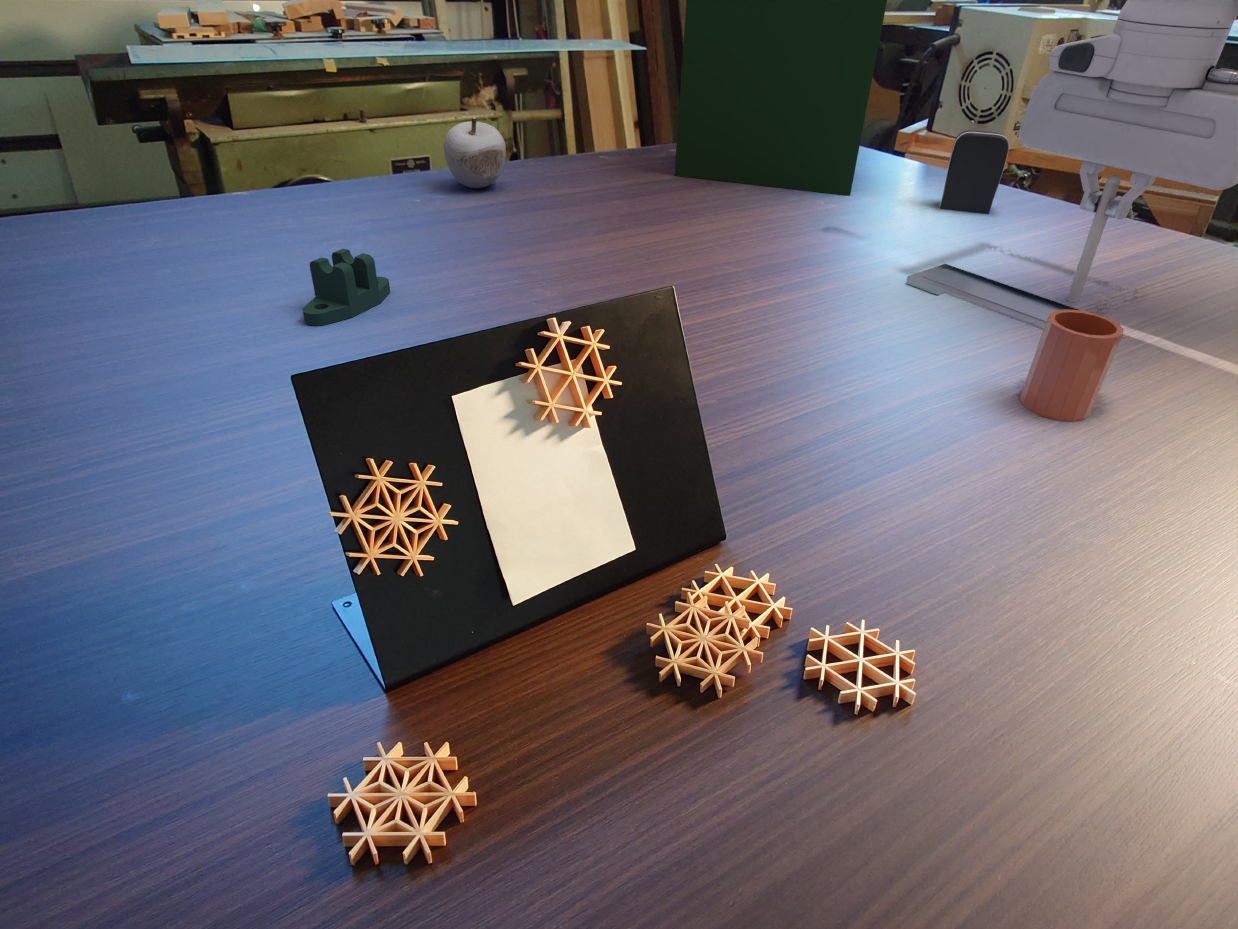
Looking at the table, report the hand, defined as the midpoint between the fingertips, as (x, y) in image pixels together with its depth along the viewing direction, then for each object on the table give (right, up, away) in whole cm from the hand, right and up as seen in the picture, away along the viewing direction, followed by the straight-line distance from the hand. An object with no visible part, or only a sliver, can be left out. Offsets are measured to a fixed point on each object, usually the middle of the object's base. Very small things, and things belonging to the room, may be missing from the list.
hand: (1102, 213), depth 80 cm
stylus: (0, -8, +5) cm, 10 cm away
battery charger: (0, +10, +33) cm, 34 cm away
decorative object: (-69, +16, +38) cm, 80 cm away
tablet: (-4, -6, +10) cm, 12 cm away
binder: (-24, +22, +49) cm, 59 cm away
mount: (-75, -9, +2) cm, 76 cm away
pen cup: (-11, -20, -12) cm, 26 cm away
